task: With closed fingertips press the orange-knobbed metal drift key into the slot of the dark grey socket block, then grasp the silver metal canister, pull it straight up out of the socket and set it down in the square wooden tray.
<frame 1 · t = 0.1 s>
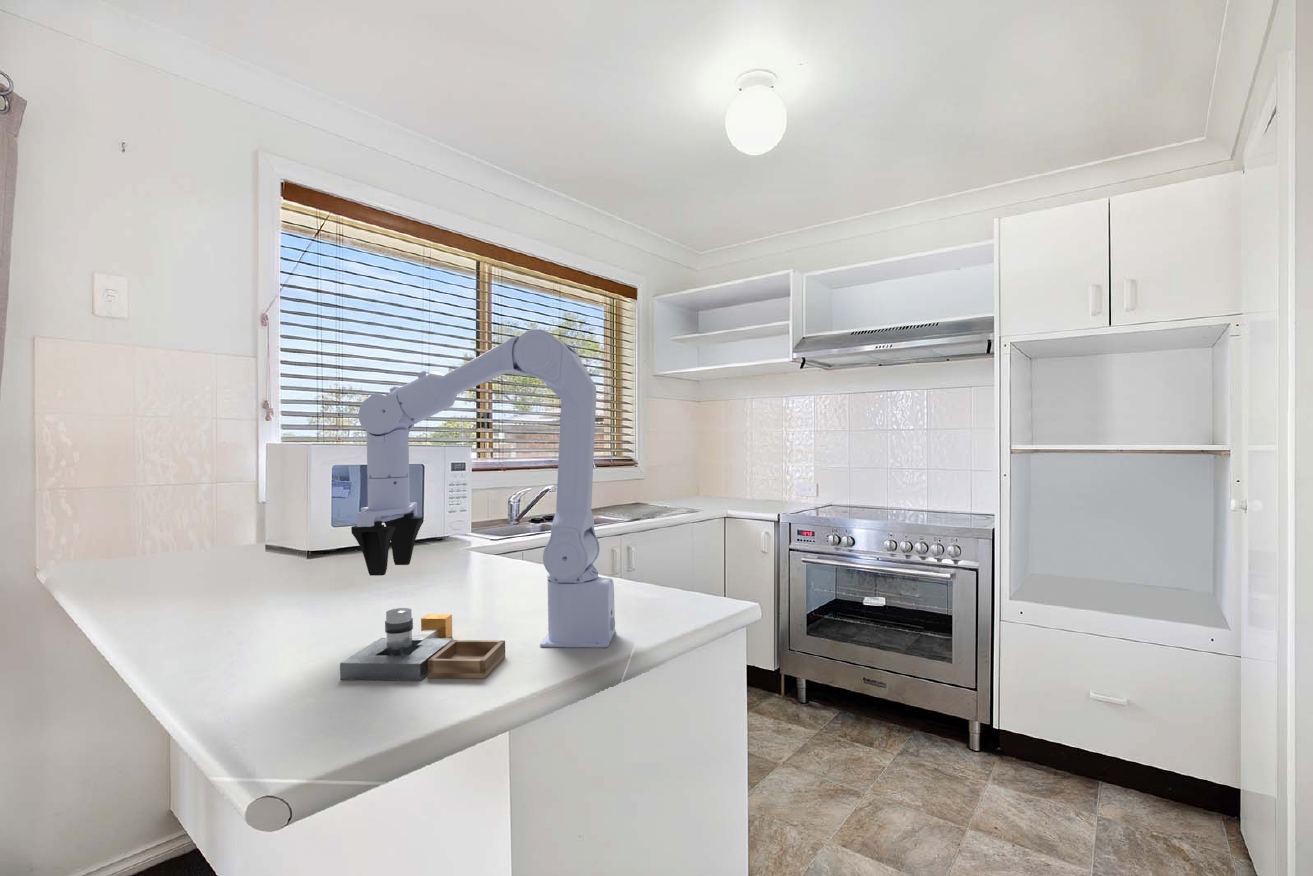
hand: (390, 569, 97), 10 cm above the worktop, fingers open, 7 cm apart
square wooden tray: (468, 666, 83), on the worktop
socket: (399, 665, 84), on the worktop
silver metal canister: (399, 666, 84), resting in socket
drift key: (428, 633, 93), point 2 cm above the worktop, slide at 0.0 cm
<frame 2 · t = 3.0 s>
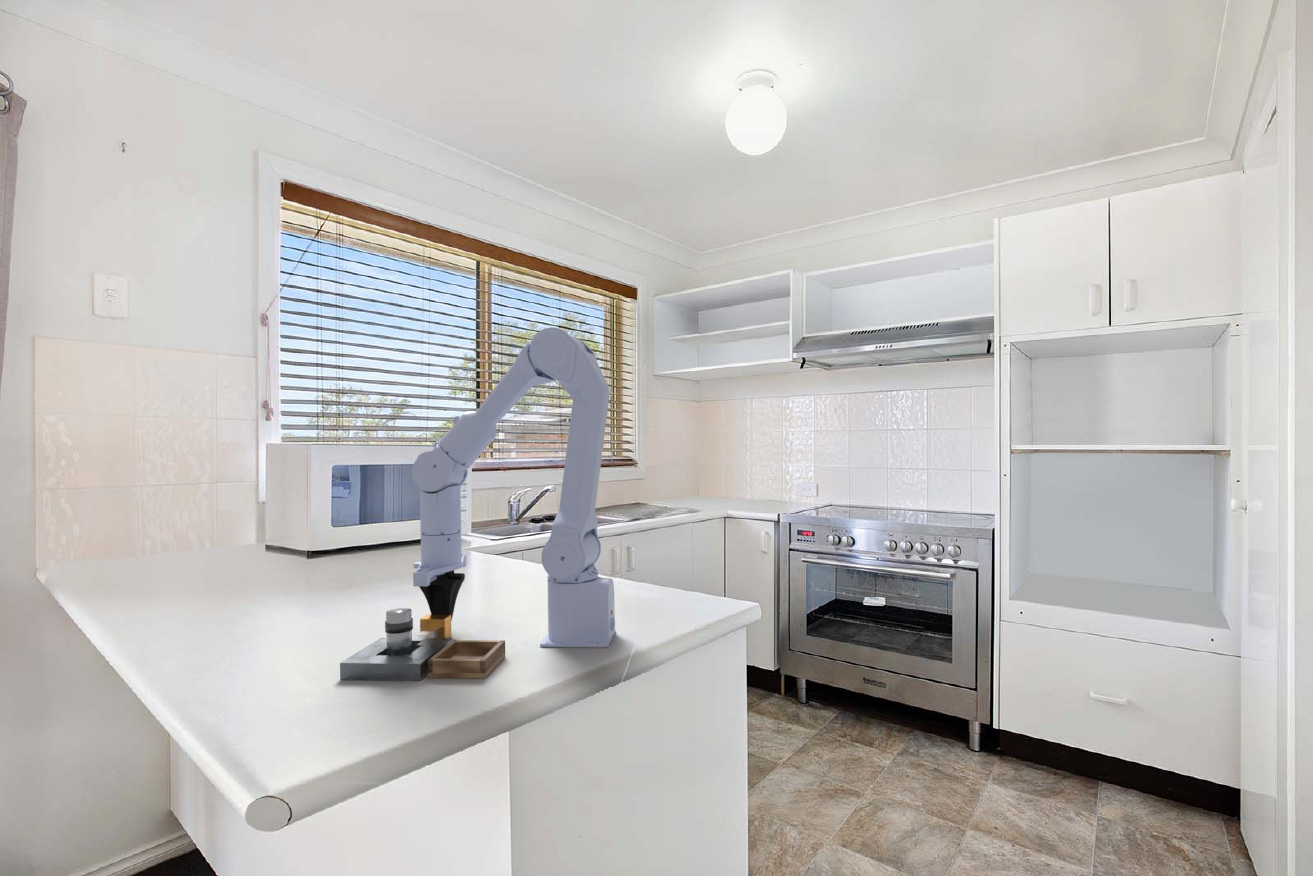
hand: (442, 624, 98), 1 cm above the worktop, fingers closed
drift key: (427, 634, 92), point 2 cm above the worktop, slide at 0.3 cm, touching gripper
everything else where it was.
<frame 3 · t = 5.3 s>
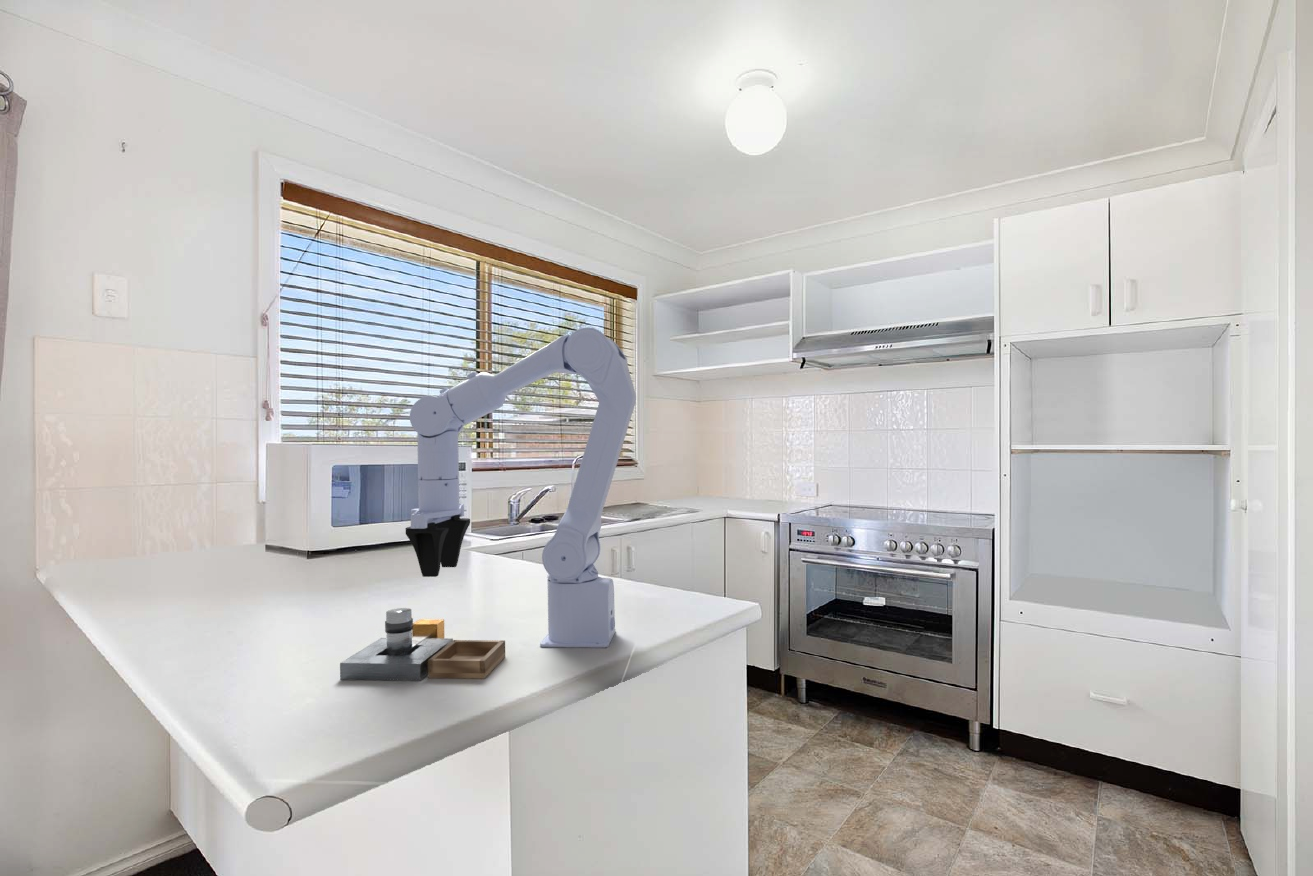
hand: (440, 571, 97), 9 cm above the worktop, fingers open, 6 cm apart
drift key: (419, 639, 90), point 2 cm above the worktop, slide at 2.8 cm
everything else where it was.
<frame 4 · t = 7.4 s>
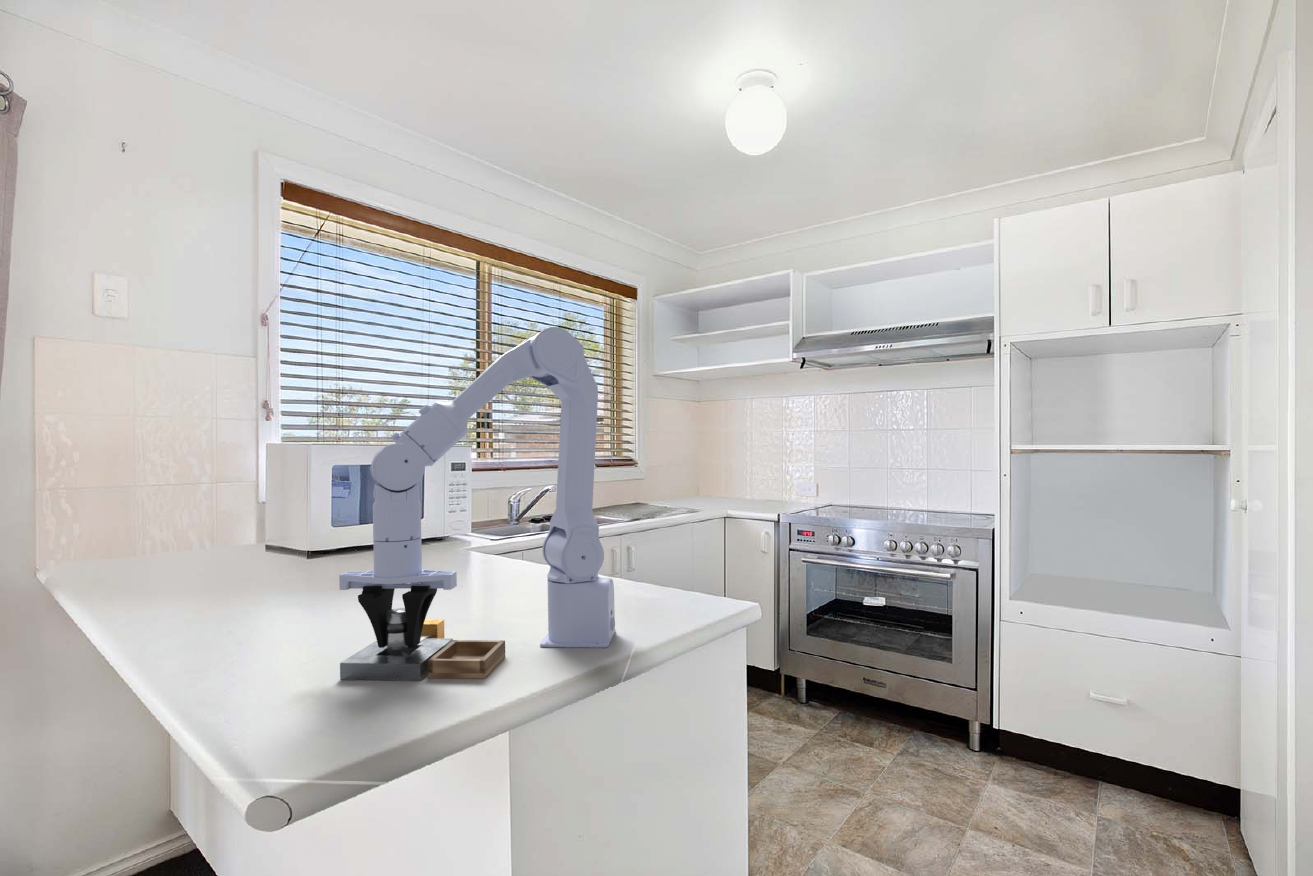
hand: (399, 645, 84), 3 cm above the worktop, fingers closed on silver metal canister, 3 cm apart
silver metal canister: (399, 666, 84), resting in socket, touching gripper
everything else where it was.
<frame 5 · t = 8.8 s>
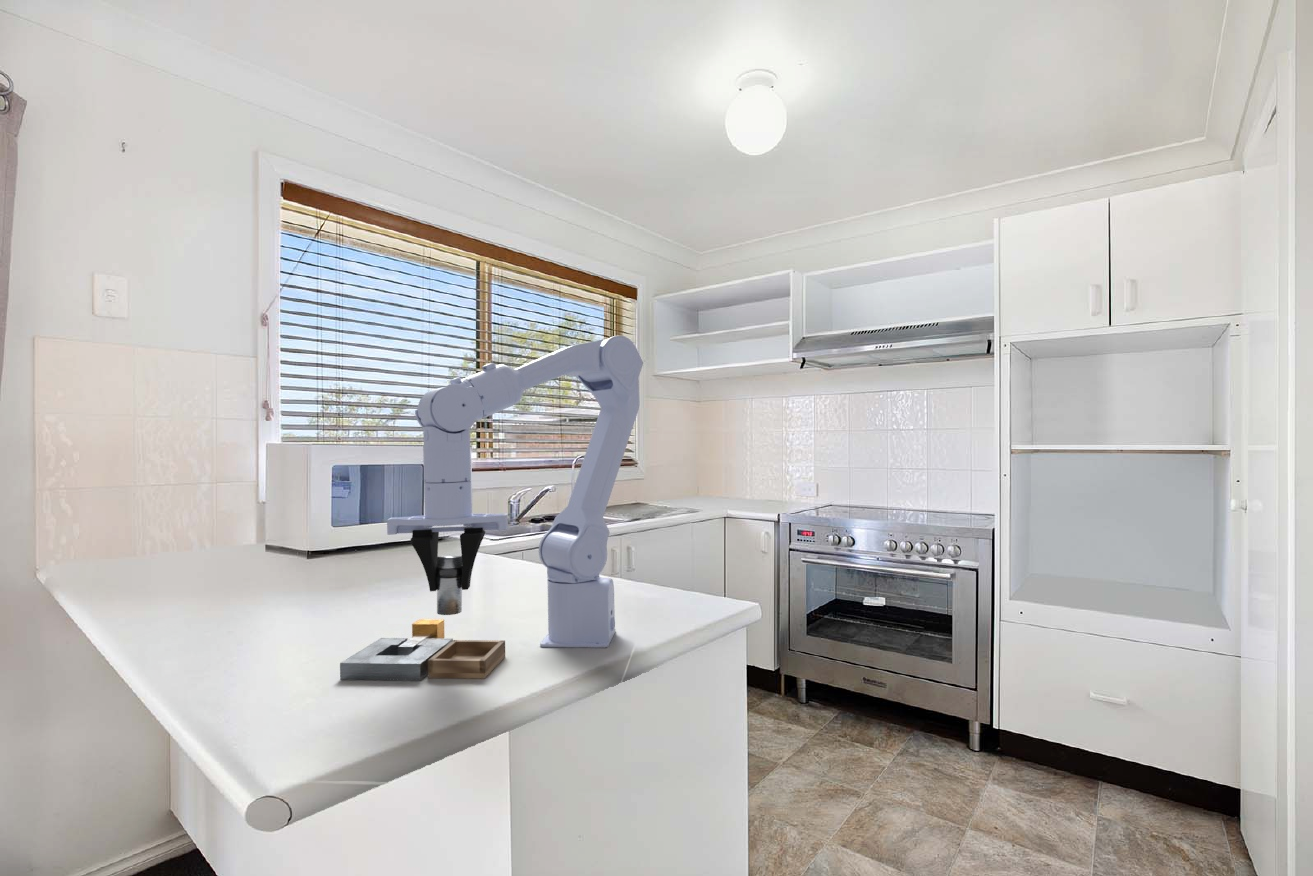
hand: (450, 588, 84), 10 cm above the worktop, fingers closed on silver metal canister, 3 cm apart
silver metal canister: (449, 612, 84), point 7 cm above the worktop, touching gripper
everything else where it was.
when the fingers open (5 cm above the worktop, at t = 10.3 s): silver metal canister drops 1 cm, resting on square wooden tray.
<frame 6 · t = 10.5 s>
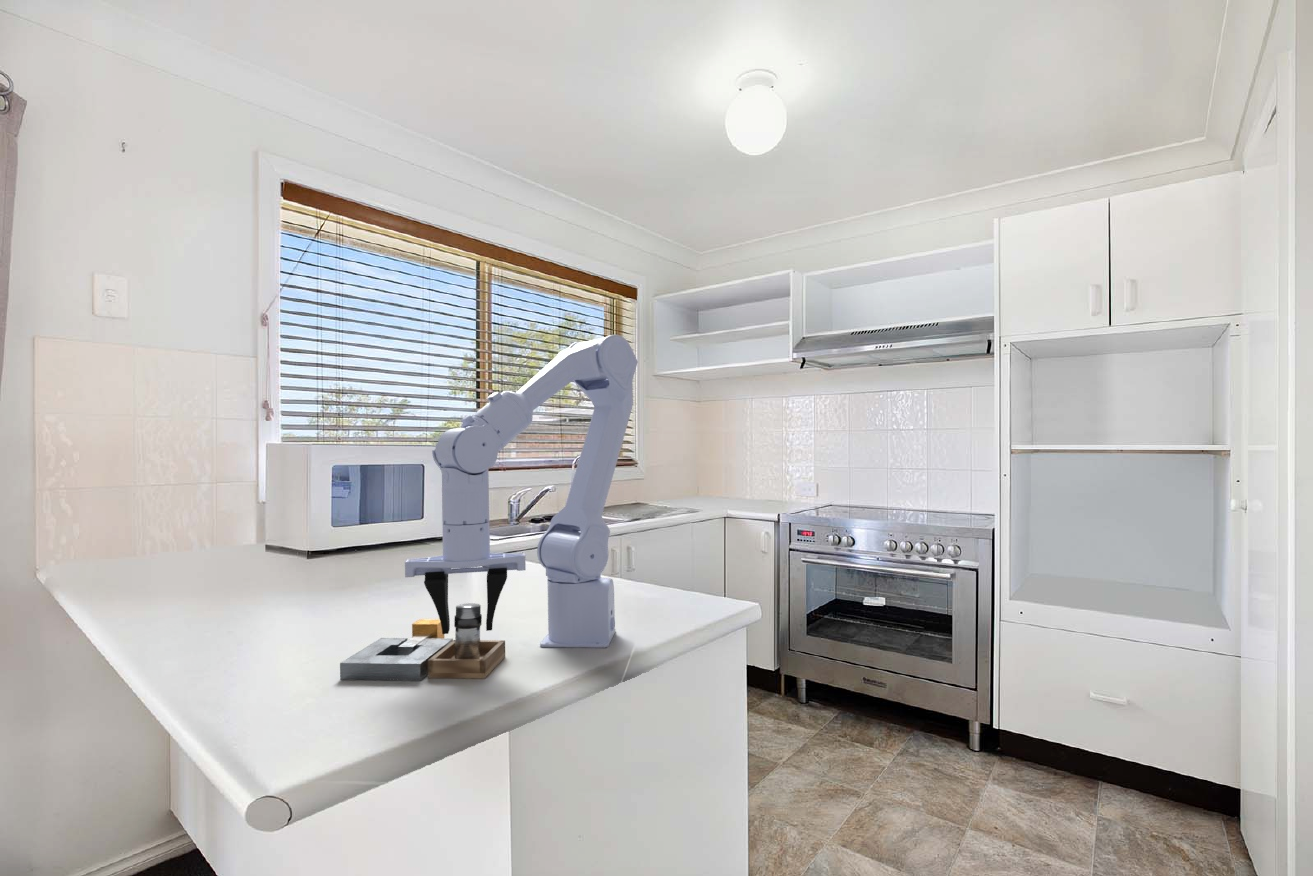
hand: (467, 630, 83), 5 cm above the worktop, fingers open, 5 cm apart
silver metal canister: (467, 661, 83), point 1 cm above the worktop, touching square wooden tray
everything else where it was.
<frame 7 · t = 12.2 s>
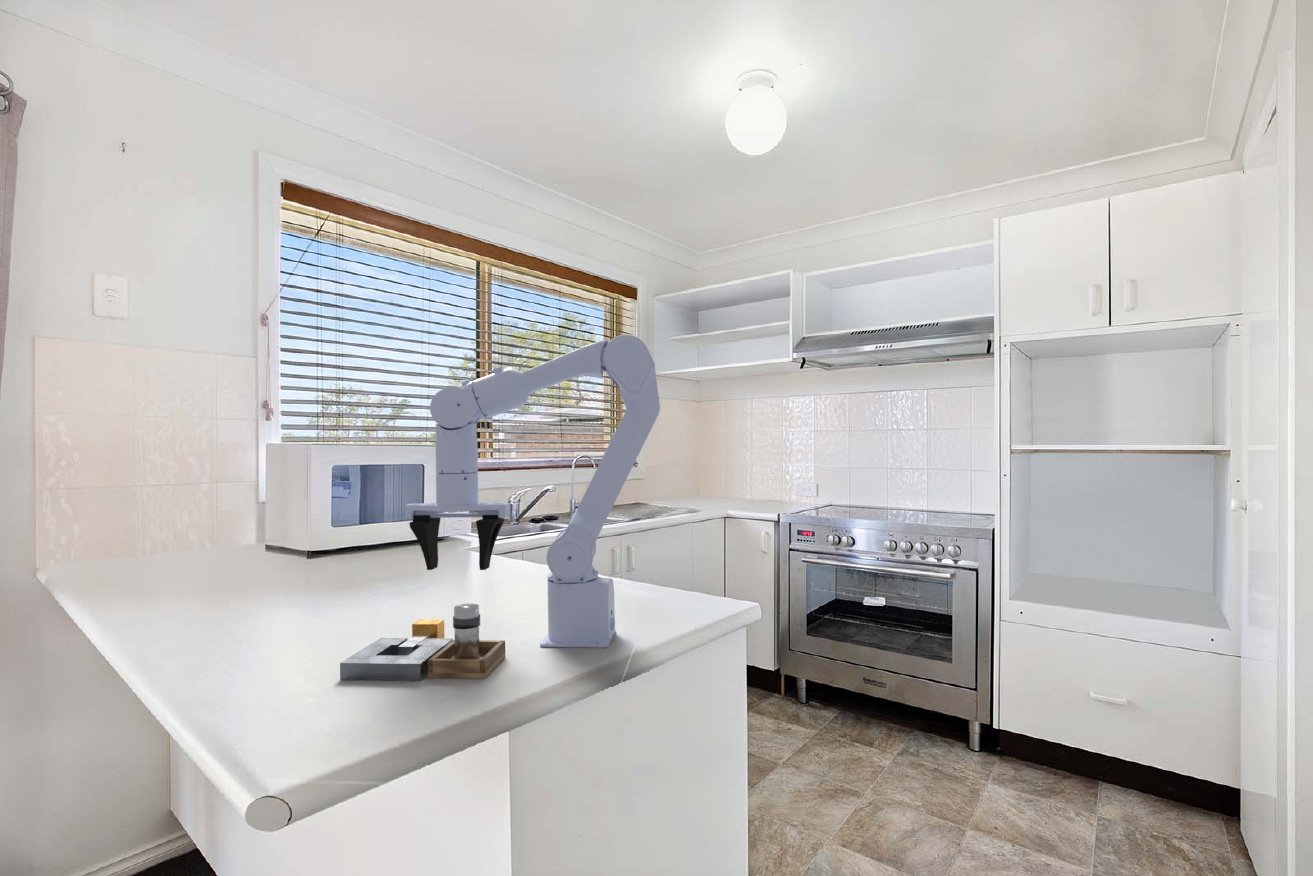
hand: (458, 568, 94), 10 cm above the worktop, fingers open, 7 cm apart
nothing on the worktop moved.
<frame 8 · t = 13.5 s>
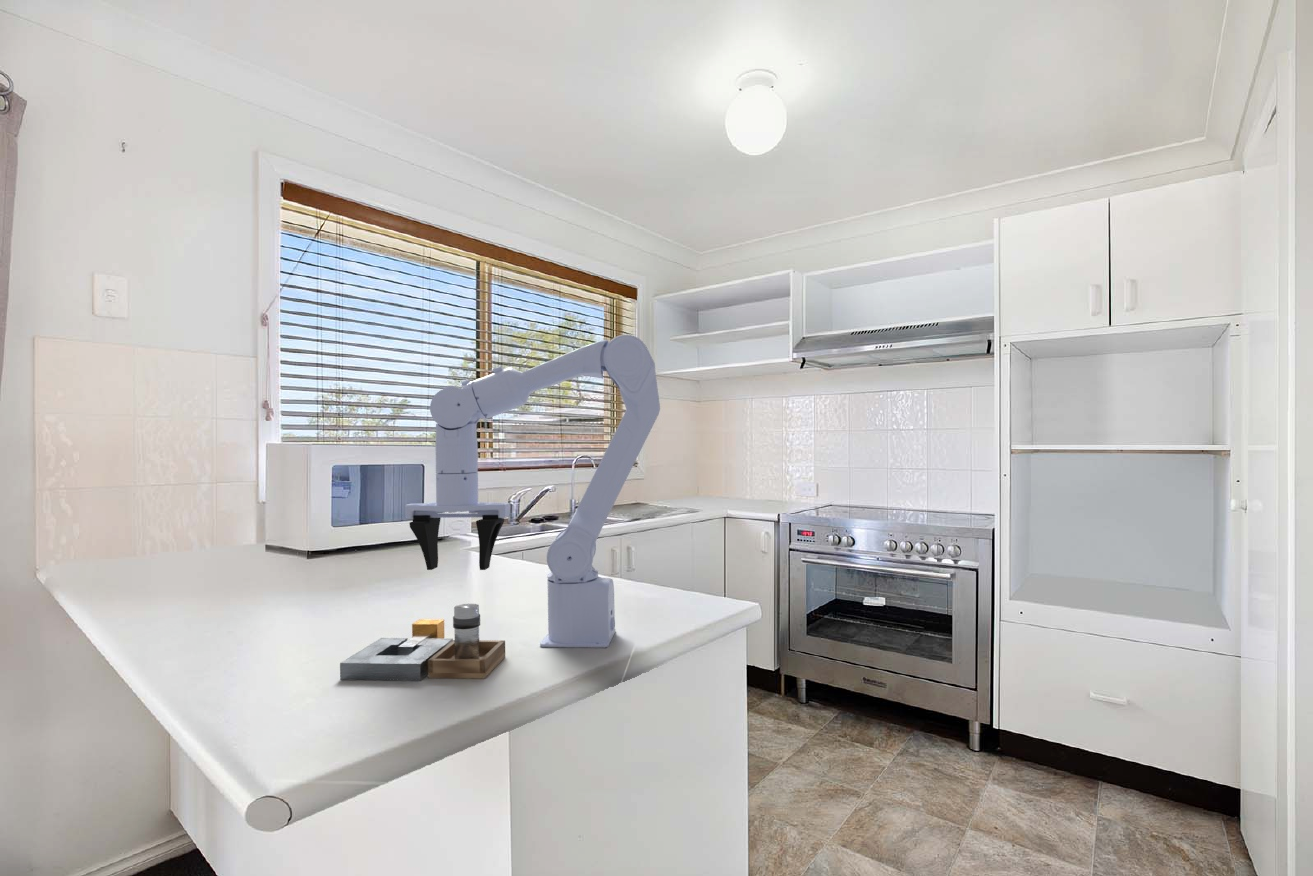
hand: (458, 568, 94), 10 cm above the worktop, fingers open, 7 cm apart
nothing on the worktop moved.
at the end: silver metal canister 0.1 cm off-centre on the square wooden tray, point 0.6 cm above the square wooden tray's base; silver metal canister tilted 0°; drift key slide at 2.8 cm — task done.
